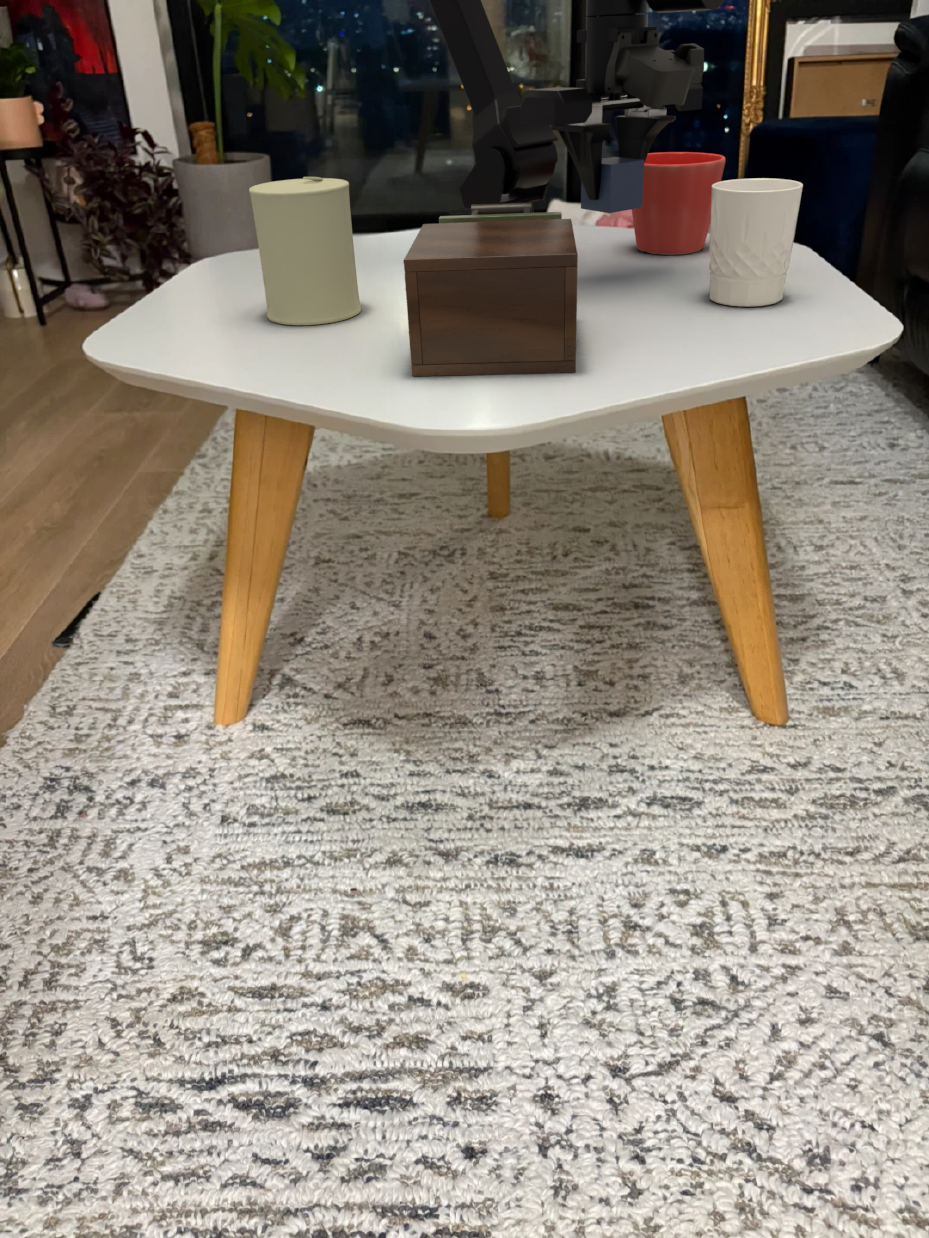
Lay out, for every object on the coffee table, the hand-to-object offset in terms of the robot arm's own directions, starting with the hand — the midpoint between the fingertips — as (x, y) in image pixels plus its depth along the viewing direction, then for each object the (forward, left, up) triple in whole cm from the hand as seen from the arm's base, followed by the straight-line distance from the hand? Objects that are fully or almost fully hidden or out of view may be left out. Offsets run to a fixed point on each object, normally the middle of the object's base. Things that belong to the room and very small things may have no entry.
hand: (611, 197), depth 99 cm
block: (0, 0, -1) cm, 1 cm away
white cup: (+16, +3, -8) cm, 18 cm away
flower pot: (-6, +15, -8) cm, 18 cm away
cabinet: (+13, -24, -8) cm, 28 cm away
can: (-9, -30, -8) cm, 32 cm away
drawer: (+3, -16, -7) cm, 18 cm away
